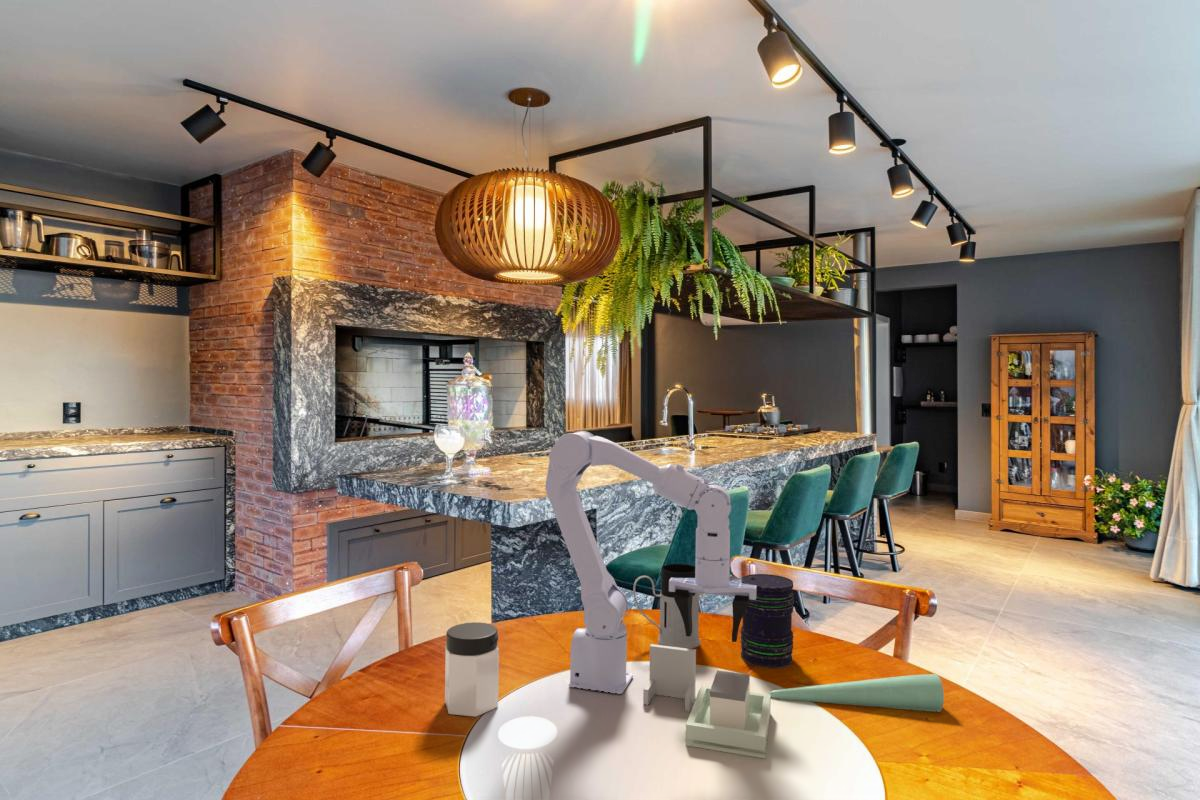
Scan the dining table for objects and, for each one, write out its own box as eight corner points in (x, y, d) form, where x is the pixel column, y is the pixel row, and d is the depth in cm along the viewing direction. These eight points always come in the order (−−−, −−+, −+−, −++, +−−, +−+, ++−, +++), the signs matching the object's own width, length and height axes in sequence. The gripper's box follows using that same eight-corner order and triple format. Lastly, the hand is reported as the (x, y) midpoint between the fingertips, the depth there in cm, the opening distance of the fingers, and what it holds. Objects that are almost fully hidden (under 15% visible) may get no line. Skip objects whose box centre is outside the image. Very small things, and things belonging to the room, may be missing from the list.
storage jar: (799, 655, 130) (800, 578, 130) (785, 672, 122) (786, 590, 122) (749, 645, 136) (750, 571, 136) (732, 661, 127) (733, 582, 127)
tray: (685, 745, 96) (686, 724, 96) (700, 703, 109) (701, 685, 109) (764, 758, 92) (765, 736, 92) (770, 713, 106) (770, 694, 106)
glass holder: (706, 647, 134) (707, 572, 134) (638, 652, 131) (639, 575, 131) (691, 632, 142) (692, 562, 142) (627, 636, 139) (628, 564, 139)
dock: (643, 704, 108) (643, 655, 108) (650, 691, 113) (651, 644, 113) (689, 711, 106) (690, 661, 106) (695, 697, 111) (695, 649, 111)
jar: (502, 713, 105) (503, 636, 105) (449, 721, 102) (450, 642, 102) (491, 689, 113) (492, 619, 113) (442, 696, 110) (443, 624, 110)
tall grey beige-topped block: (709, 732, 98) (709, 691, 98) (716, 708, 105) (717, 670, 105) (744, 737, 96) (744, 696, 96) (749, 713, 104) (749, 674, 104)
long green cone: (767, 659, 115) (931, 668, 111) (767, 691, 115) (931, 701, 111) (771, 672, 109) (944, 682, 106) (771, 706, 109) (944, 716, 106)
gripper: (665, 558, 111) (664, 640, 111) (754, 565, 107) (753, 650, 107) (673, 549, 118) (672, 626, 118) (757, 556, 114) (756, 636, 114)
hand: (711, 637), depth 113 cm, fingers open, 7 cm apart
